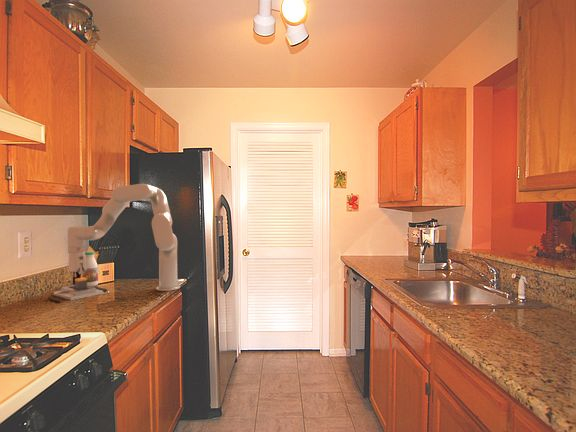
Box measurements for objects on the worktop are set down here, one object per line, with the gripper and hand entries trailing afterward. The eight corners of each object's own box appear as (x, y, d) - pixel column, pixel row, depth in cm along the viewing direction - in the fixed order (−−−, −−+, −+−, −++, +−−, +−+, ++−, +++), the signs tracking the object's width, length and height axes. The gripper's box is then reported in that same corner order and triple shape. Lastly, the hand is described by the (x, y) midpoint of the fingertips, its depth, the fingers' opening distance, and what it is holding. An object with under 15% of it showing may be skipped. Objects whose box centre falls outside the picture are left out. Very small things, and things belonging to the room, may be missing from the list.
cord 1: (48, 299, 155) (48, 297, 155) (51, 298, 156) (51, 296, 156) (59, 303, 148) (59, 300, 148) (62, 302, 149) (62, 300, 149)
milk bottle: (80, 286, 183) (79, 252, 183) (94, 283, 190) (93, 250, 190) (86, 287, 179) (85, 253, 179) (100, 285, 185) (99, 251, 185)
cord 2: (91, 289, 176) (91, 287, 176) (96, 288, 178) (96, 286, 178) (102, 292, 169) (102, 290, 169) (107, 291, 171) (107, 289, 171)
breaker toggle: (83, 290, 166) (83, 277, 166) (86, 291, 164) (86, 278, 164) (74, 292, 163) (74, 278, 163) (78, 293, 160) (78, 279, 160)
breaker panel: (85, 288, 176) (84, 282, 176) (103, 293, 165) (102, 287, 165) (53, 294, 164) (53, 288, 164) (70, 300, 153) (70, 293, 153)
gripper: (90, 250, 164) (91, 284, 165) (77, 248, 173) (78, 281, 173) (74, 251, 158) (75, 287, 158) (62, 249, 166) (62, 284, 167)
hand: (76, 284), depth 166 cm, fingers closed
